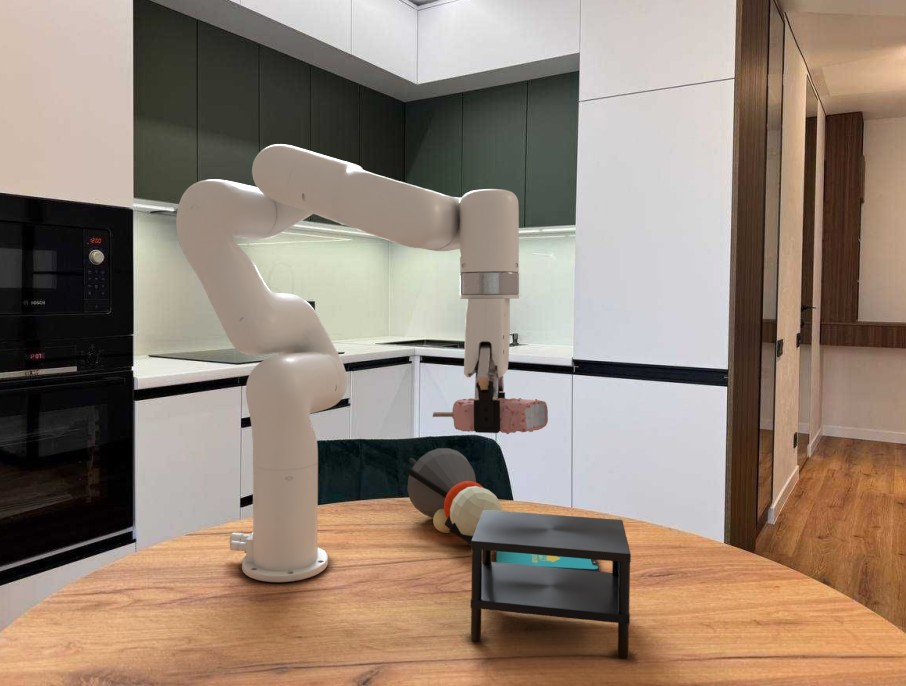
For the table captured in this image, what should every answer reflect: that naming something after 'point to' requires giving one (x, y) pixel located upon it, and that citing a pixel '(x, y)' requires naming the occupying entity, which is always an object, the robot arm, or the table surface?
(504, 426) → the ice cream bar
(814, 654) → the table surface
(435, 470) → the toy
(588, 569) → the smartphone
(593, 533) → the rack
